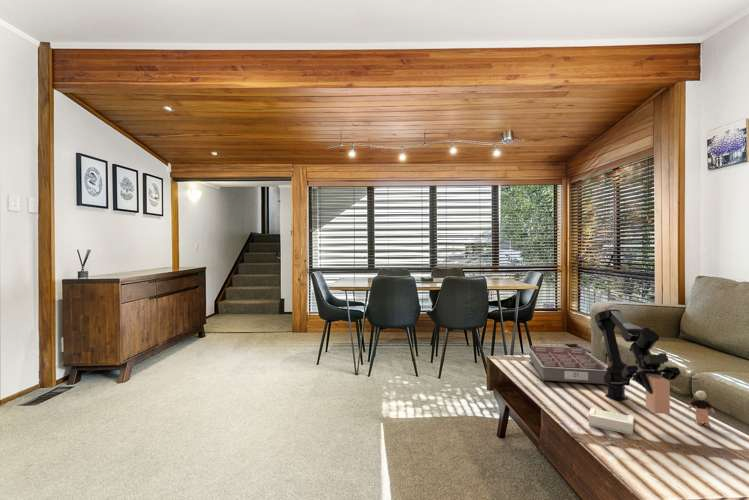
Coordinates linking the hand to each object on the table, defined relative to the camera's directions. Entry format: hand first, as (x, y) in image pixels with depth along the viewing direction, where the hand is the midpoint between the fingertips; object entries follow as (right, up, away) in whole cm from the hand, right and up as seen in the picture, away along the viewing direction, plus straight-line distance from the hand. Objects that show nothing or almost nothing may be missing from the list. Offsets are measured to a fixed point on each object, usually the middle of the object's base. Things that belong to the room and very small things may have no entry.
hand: (659, 393), depth 145 cm
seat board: (-14, -13, +7) cm, 20 cm away
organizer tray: (-1, -14, +69) cm, 70 cm away
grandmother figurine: (+19, -14, +5) cm, 24 cm away
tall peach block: (0, -7, +1) cm, 7 cm away
